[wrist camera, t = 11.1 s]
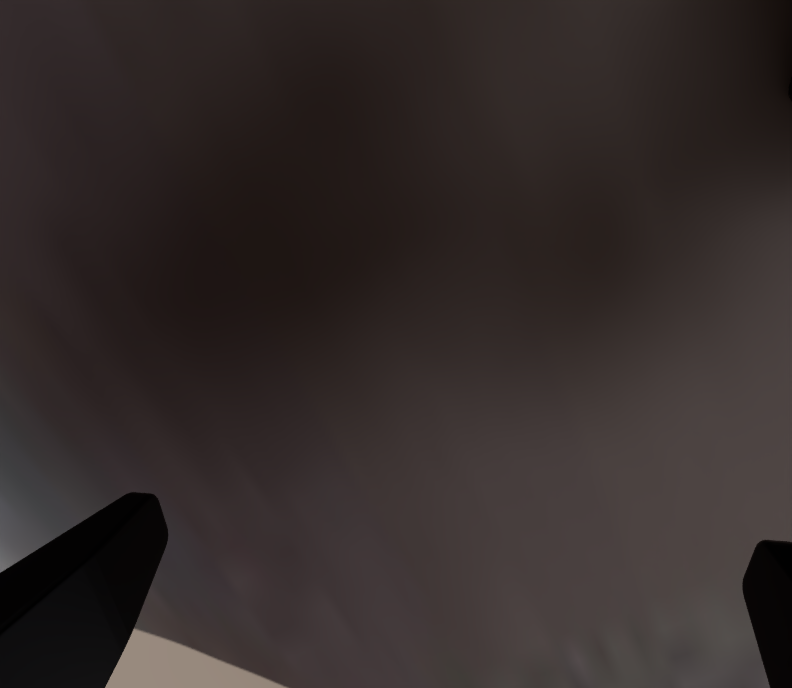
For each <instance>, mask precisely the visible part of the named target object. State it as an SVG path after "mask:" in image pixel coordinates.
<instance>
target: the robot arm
mask: <svg viewBox="0 0 792 688" xmlns="http://www.w3.org/2000/svg"><path fill="white" fill-rule="evenodd" d="M789 97H790V99H791V101H792V78H791V82H790V85H789ZM167 541H168V528H167V525H166V522H165V519H164V515H163V512H162V509H161V506H160V503H159V500H158V498H157V497H156V496H155V495H154V494H150V493H136V492H132V493H128V494H126V495H124V496H122V497H121V498H119V499H117V500H116V501H114V502H113V503H111V504H109V505H108V506H106V507H105V508H103V509H102V510H100V511H98V512H97V513H95V514H94V515H92V516H90V517H89V518H87V519H86V520H84V521H82V522H81V523H79V524H78V525H76V526H74V527H73V528H71V529H70V530H68V531H66V532H65V533H63V534H62V535H60V536H58V537H57V538H55V539H54V540H52V541H50V542H49V543H47V544H46V545H44V546H42V547H41V548H39V549H38V550H36V551H34V552H33V553H31V554H30V555H28V556H26V557H25V558H23V559H22V560H20V561H18V562H17V563H15V564H14V565H12V566H11V567H9V568H7V569H6V570H4V571H3V572H1V573H0V688H105V686H106V684H107V682H108V680H109V678H110V676H111V675H112V673H113V670H114V668H115V667H116V665H117V663H118V661H119V659H120V657H121V655H122V652H123V651H124V649H125V647H126V644H127V642H128V640H129V638H130V636H131V634H132V631H133V629H134V627H135V624H136V622H137V619H138V617H139V614H140V612H141V609H142V606H143V604H144V601H145V599H146V596H147V594H148V591H149V589H150V586H151V584H152V581H153V578H154V576H155V573H156V571H157V568H158V566H159V563H160V561H161V558H162V555H163V553H164V550H165V548H166V545H167ZM743 595H744V599H745V602H746V606H747V609H748V613H749V616H750V620H751V623H752V627H753V630H754V633H755V637H756V640H757V644H758V647H759V651H760V654H761V658H762V661H763V665H764V668H765V672H766V675H767V678H768V682H769V685H770V688H792V542H787V541H774V540H762V541H760V542H759V543H758V544H757V546H756V547H755V550H754V552H753V555H752V557H751V560H750V562H749V565H748V567H747V570H746V573H745V575H744V578H743Z"/></svg>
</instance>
